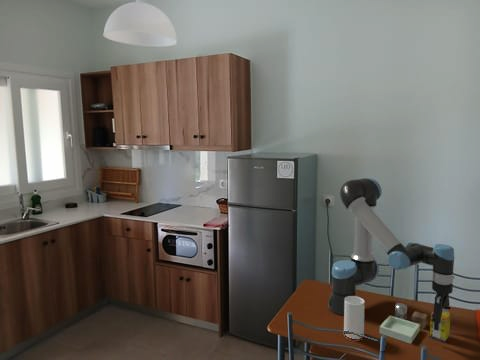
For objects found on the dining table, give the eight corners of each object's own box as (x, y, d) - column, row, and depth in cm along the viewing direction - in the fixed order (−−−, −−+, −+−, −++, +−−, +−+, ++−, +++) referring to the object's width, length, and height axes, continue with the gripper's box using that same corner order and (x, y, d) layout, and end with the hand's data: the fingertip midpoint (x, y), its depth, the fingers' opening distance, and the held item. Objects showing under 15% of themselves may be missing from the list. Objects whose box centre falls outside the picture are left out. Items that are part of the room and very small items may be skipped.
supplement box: (429, 337, 153) (430, 313, 151) (434, 332, 157) (435, 308, 156) (445, 343, 149) (446, 318, 147) (449, 337, 153) (450, 313, 151)
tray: (379, 333, 157) (379, 326, 156) (389, 321, 166) (389, 315, 166) (410, 343, 148) (411, 337, 148) (419, 330, 158) (419, 324, 158)
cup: (364, 341, 151) (365, 305, 149) (344, 339, 152) (345, 303, 151) (362, 331, 159) (363, 296, 157) (343, 329, 160) (343, 295, 159)
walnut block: (411, 325, 163) (412, 315, 162) (414, 321, 166) (415, 311, 166) (423, 329, 159) (424, 318, 159) (426, 324, 163) (427, 314, 162)
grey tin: (393, 320, 168) (393, 305, 167) (396, 315, 171) (397, 302, 171) (404, 323, 164) (405, 309, 164) (407, 319, 168) (408, 305, 167)
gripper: (446, 294, 138) (443, 346, 140) (458, 274, 156) (456, 320, 159) (424, 289, 143) (422, 339, 145) (439, 271, 161) (437, 315, 164)
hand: (440, 329), depth 152 cm, fingers open, 13 cm apart
